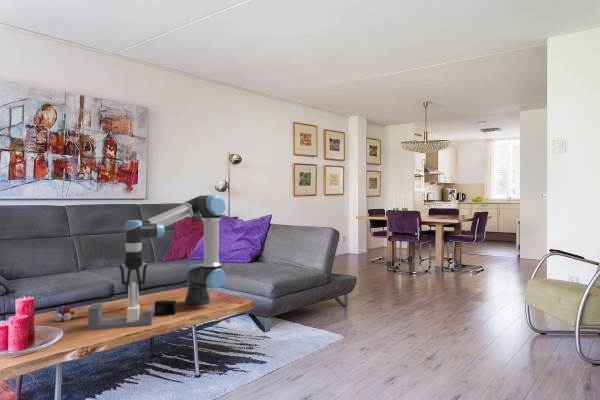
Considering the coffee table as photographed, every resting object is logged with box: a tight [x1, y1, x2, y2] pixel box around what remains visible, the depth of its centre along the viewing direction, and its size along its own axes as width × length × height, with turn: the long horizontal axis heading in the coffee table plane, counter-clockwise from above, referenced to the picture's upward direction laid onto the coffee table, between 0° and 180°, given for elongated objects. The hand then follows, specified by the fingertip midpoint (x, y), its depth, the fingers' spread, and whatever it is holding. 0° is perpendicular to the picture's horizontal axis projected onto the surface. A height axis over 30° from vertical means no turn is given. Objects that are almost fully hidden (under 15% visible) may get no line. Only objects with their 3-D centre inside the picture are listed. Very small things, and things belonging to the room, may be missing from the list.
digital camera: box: [154, 300, 177, 317], centre depth 222 cm, size 10×5×7 cm, turn 97°
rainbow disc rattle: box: [53, 305, 77, 322], centre depth 212 cm, size 8×10×7 cm
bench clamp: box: [87, 302, 154, 331], centre depth 204 cm, size 28×12×10 cm, turn 107°
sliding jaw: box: [126, 281, 141, 321], centre depth 205 cm, size 5×9×18 cm, turn 17°
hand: (133, 298), depth 205 cm, fingers closed on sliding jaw, 3 cm apart
